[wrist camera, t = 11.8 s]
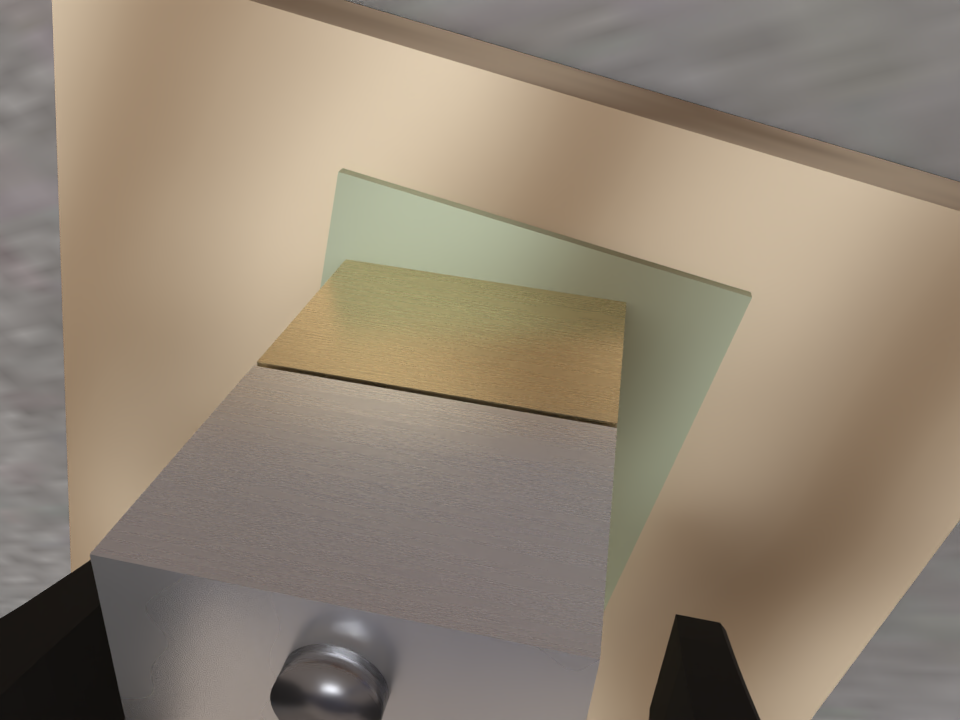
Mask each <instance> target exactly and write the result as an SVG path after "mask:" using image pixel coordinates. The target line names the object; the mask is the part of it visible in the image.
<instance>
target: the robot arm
mask: <svg viewBox="0 0 960 720" xmlns="http://www.w3.org/2000/svg"><path fill="white" fill-rule="evenodd" d="M0 720H125V715H124V711H123V706H122V702H121V697H120V692H119V688H118V683H117V679H116V674H115V669H114V665H113V660H112V655H111V651H110V646H109V642H108V637H107V632H106V628H105V623H104V619H103V614H102V609H101V605H100V600H99V595H98V591H97V586H96V582H95V577H94V572H93V568H92V563H91V560H89V561H88V562H86V563H85V564H83V565H82V566H81V567H79V568H78V569H76V570H75V571H73V572H72V573H70V574H69V575H67V576H66V577H64V578H63V579H61V580H60V581H58V582H57V583H55V584H54V585H52V586H51V587H49V588H48V589H46V590H45V591H43V592H42V593H40V594H38V595H37V596H35V597H34V598H32V599H31V600H29V601H28V602H26V603H25V604H23V605H22V606H20V607H18V608H17V609H15V610H14V611H12V612H10V613H9V614H7V615H5V616H4V617H2V618H0ZM649 720H761V719H760V717H759V715H758V712H757V710H756V708H755V705H754V703H753V700H752V698H751V696H750V693H749V691H748V689H747V686H746V684H745V681H744V678H743V676H742V673H741V671H740V668H739V666H738V663H737V660H736V658H735V655H734V652H733V649H732V646H731V644H730V641H729V638H728V635H727V632H726V630H725V628H724V627H723V626H722V624H721V623H719V622H714V621H709V620H704V619H699V618H694V617H689V616H683V615H678V614H676V615H675V619H674V623H673V626H672V630H671V633H670V637H669V641H668V644H667V648H666V651H665V655H664V659H663V662H662V666H661V669H660V673H659V677H658V680H657V684H656V687H655V691H654V695H653V698H652V702H651V705H650V709H649Z"/></svg>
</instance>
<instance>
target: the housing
mask: <svg viewBox="0 0 960 720" xmlns="http://www.w3.org/2000/svg"><path fill="white" fill-rule="evenodd" d="M625 315H626V302H622V301H615V300H609V299H602V298H596V297H589V296H583V295H576V294H570V293H563V292H557V291H550V290H544V289H537V288H530V287H524V286H517V285H511V284H504V283H498V282H491V281H485V280H478V279H472V278H465V277H459V276H452V275H445V274H439V273H432V272H426V271H419V270H413V269H406V268H400V267H393V266H387V265H380V264H374V263H367V262H360V261H354V260H347V259H346V260H345V261H344V262H343V263H342V264H341V265H340V267H339V268H338V269H337V270H336V271H335V272H334V273H333V275H332V276H331V277H330V278H329V279H328V280H327V281H326V283H325V284H324V285H323V286H322V287H321V288H320V290H319V291H318V292H317V293H316V294H315V295H314V296H313V298H312V299H311V300H310V301H309V302H308V303H307V305H306V306H305V307H304V308H303V309H302V310H301V311H300V313H299V314H298V315H297V316H296V317H295V318H294V319H293V321H292V322H291V323H290V324H289V325H288V326H287V328H286V329H285V330H284V331H283V332H282V333H281V334H280V336H279V337H278V338H277V339H276V340H275V341H274V342H273V344H272V345H271V346H270V347H269V348H268V349H267V351H266V352H265V353H264V354H263V355H262V356H261V357H260V359H259V360H258V361H257V366H253V367H252V368H251V369H250V370H249V371H248V372H247V374H246V375H245V376H244V377H243V378H242V379H241V380H240V382H239V383H238V384H237V385H236V386H235V387H234V389H233V390H232V391H231V392H230V393H229V394H228V395H227V397H226V398H225V399H224V400H223V401H222V402H221V404H220V405H219V406H218V407H217V408H216V409H215V410H214V412H213V413H212V414H211V415H210V416H209V417H208V418H207V420H206V421H205V422H204V423H203V424H202V425H201V427H200V428H199V429H198V430H197V431H196V432H195V433H194V435H193V436H192V437H191V438H190V439H189V440H188V442H187V443H186V444H185V445H184V446H183V447H182V448H181V450H180V451H179V452H178V453H177V454H176V455H175V456H174V458H173V459H172V460H171V461H170V462H169V463H168V465H167V466H166V467H165V468H164V469H163V470H162V471H161V473H160V474H159V475H158V476H157V477H156V478H155V479H154V481H153V482H152V483H151V484H150V485H149V486H148V488H147V489H146V490H145V491H144V492H143V493H142V494H141V496H140V497H139V498H138V499H137V500H136V501H135V503H134V504H133V505H132V506H131V507H130V508H129V509H128V511H127V512H126V513H125V514H124V515H123V516H122V517H121V519H120V520H119V521H118V522H117V523H116V524H115V526H114V527H113V528H112V529H111V530H110V531H109V532H108V534H107V535H106V536H105V537H104V538H103V539H102V541H101V542H100V543H99V544H98V545H97V546H96V547H95V549H94V550H93V551H92V552H91V553H90V559H91V563H92V568H93V572H94V577H95V582H96V586H97V591H98V595H99V600H100V605H101V609H102V614H103V619H104V623H105V628H106V632H107V637H108V642H109V646H110V651H111V655H112V660H113V665H114V669H115V674H116V679H117V683H118V688H119V692H120V697H121V702H122V706H123V711H124V715H125V720H586V719H587V715H588V710H589V706H590V702H591V697H592V693H593V689H594V684H595V680H596V675H597V671H598V667H599V662H600V654H601V640H602V627H603V613H604V600H605V586H606V573H607V559H608V545H609V532H610V518H611V505H612V491H613V477H614V464H615V450H616V437H617V423H618V410H619V396H620V382H621V369H622V355H623V342H624V328H625Z"/></svg>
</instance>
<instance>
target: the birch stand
mask: <svg viewBox="0 0 960 720" xmlns="http://www.w3.org/2000/svg"><path fill="white" fill-rule="evenodd" d="M52 12H53V42H54V72H55V102H56V132H57V162H58V192H59V222H60V252H61V282H62V312H63V342H64V372H65V403H66V433H67V463H68V493H69V523H70V553H71V573H72V572H73V571H75V570H76V569H78V568H79V567H81V566H82V565H83V564H85V563H86V562H88V561H89V560H91V559H90V553H91V552H92V551H93V550H94V549H95V547H96V546H97V545H98V544H99V543H100V542H101V541H102V539H103V538H104V537H105V536H106V535H107V534H108V532H109V531H110V530H111V529H112V528H113V527H114V526H115V524H116V523H117V522H118V521H119V520H120V519H121V517H122V516H123V515H124V514H125V513H126V512H127V511H128V509H129V508H130V507H131V506H132V505H133V504H134V503H135V501H136V500H137V499H138V498H139V497H140V496H141V494H142V493H143V492H144V491H145V490H146V489H147V488H148V486H149V485H150V484H151V483H152V482H153V481H154V479H155V478H156V477H157V476H158V475H159V474H160V473H161V471H162V470H163V469H164V468H165V467H166V466H167V465H168V463H169V462H170V461H171V460H172V459H173V458H174V456H175V455H176V454H177V453H178V452H179V451H180V450H181V448H182V447H183V446H184V445H185V444H186V443H187V442H188V440H189V439H190V438H191V437H192V436H193V435H194V433H195V432H196V431H197V430H198V429H199V428H200V427H201V425H202V424H203V423H204V422H205V421H206V420H207V418H208V417H209V416H210V415H211V414H212V413H213V412H214V410H215V409H216V408H217V407H218V406H219V405H220V404H221V402H222V401H223V400H224V399H225V398H226V397H227V395H228V394H229V393H230V392H231V391H232V390H233V389H234V387H235V386H236V385H237V384H238V383H239V382H240V380H241V379H242V378H243V377H244V376H245V375H246V374H247V372H248V371H249V370H250V369H251V368H252V367H253V366H257V361H258V360H259V359H260V357H261V356H262V355H263V354H264V353H265V352H266V351H267V349H268V348H269V347H270V346H271V345H272V344H273V342H274V341H275V340H276V339H277V338H278V337H279V336H280V334H281V333H282V332H283V331H284V330H285V329H286V328H287V326H288V325H289V324H290V323H291V322H292V321H293V319H294V318H295V317H296V316H297V315H298V314H299V313H300V311H301V310H302V309H303V308H304V307H305V306H306V305H307V303H308V302H309V301H310V300H311V299H312V298H313V296H314V295H315V294H316V293H317V292H318V291H319V290H320V288H321V287H322V286H323V285H324V284H325V283H326V281H327V280H328V279H329V278H330V277H331V276H332V275H333V273H334V272H335V271H336V270H337V269H338V268H339V267H340V265H341V264H342V263H343V262H344V261H345V260H346V259H347V260H354V261H360V262H367V263H374V264H380V265H387V266H393V267H400V268H406V269H413V270H419V271H426V272H432V273H439V274H445V275H452V276H459V277H465V278H472V279H478V280H485V281H491V282H498V283H504V284H511V285H517V286H524V287H530V288H537V289H544V290H550V291H557V292H563V293H570V294H576V295H583V296H589V297H596V298H602V299H609V300H615V301H622V302H626V315H625V328H624V342H623V355H622V369H621V382H620V396H619V410H618V423H617V437H616V450H615V464H614V477H613V491H612V505H611V518H610V532H609V545H608V559H607V573H606V586H605V600H604V613H603V627H602V640H601V654H600V662H599V667H598V671H597V675H596V680H595V684H594V689H593V693H592V697H591V702H590V706H589V710H588V715H587V719H586V720H649V709H650V705H651V702H652V698H653V695H654V691H655V687H656V684H657V680H658V677H659V673H660V669H661V666H662V662H663V659H664V655H665V651H666V648H667V644H668V641H669V637H670V633H671V630H672V626H673V623H674V619H675V615H676V614H678V615H683V616H689V617H694V618H699V619H704V620H709V621H714V622H719V623H721V624H722V626H723V627H724V628H725V630H726V632H727V635H728V638H729V641H730V644H731V646H732V649H733V652H734V655H735V658H736V660H737V663H738V666H739V668H740V671H741V673H742V676H743V678H744V681H745V684H746V686H747V689H748V691H749V693H750V696H751V698H752V700H753V703H754V705H755V708H756V710H757V712H758V715H759V717H760V719H761V720H811V719H812V717H813V716H814V715H815V713H816V712H817V711H818V709H819V708H820V707H821V705H822V704H823V703H824V701H825V700H826V699H827V697H828V696H829V695H830V693H831V692H832V690H833V689H834V688H835V686H836V685H837V684H838V682H839V681H840V680H841V678H842V677H843V676H844V674H845V673H846V672H847V670H848V669H849V668H850V666H851V665H852V664H853V662H854V661H855V660H856V658H857V657H858V656H859V654H860V653H861V652H862V650H863V649H864V648H865V646H866V645H867V644H868V642H869V641H870V640H871V638H872V637H873V636H874V634H875V633H876V632H877V630H878V629H879V627H880V626H881V625H882V623H883V622H884V621H885V619H886V618H887V617H888V615H889V614H890V613H891V611H892V610H893V609H894V607H895V606H896V605H897V603H898V602H899V601H900V599H901V598H902V597H903V595H904V594H905V593H906V591H907V590H908V589H909V587H910V586H911V585H912V583H913V582H914V581H915V579H916V578H917V577H918V575H919V574H920V573H921V571H922V570H923V568H924V567H925V566H926V564H927V563H928V562H929V560H930V559H931V558H932V556H933V555H934V554H935V552H936V551H937V550H938V548H939V547H940V546H941V544H942V543H943V542H944V540H945V539H946V538H947V536H948V535H949V534H950V532H951V531H952V530H953V528H954V527H955V526H956V524H957V523H958V522H959V520H960V182H958V181H954V180H951V179H948V178H944V177H941V176H937V175H934V174H931V173H927V172H924V171H920V170H917V169H914V168H910V167H907V166H904V165H900V164H897V163H893V162H890V161H887V160H883V159H880V158H876V157H873V156H870V155H866V154H863V153H860V152H856V151H853V150H849V149H846V148H843V147H839V146H836V145H832V144H829V143H826V142H822V141H819V140H816V139H812V138H809V137H805V136H802V135H799V134H795V133H792V132H788V131H785V130H782V129H778V128H775V127H772V126H768V125H765V124H761V123H758V122H755V121H751V120H748V119H744V118H741V117H738V116H734V115H731V114H728V113H724V112H721V111H717V110H714V109H711V108H707V107H704V106H700V105H697V104H694V103H690V102H687V101H684V100H680V99H677V98H673V97H670V96H667V95H663V94H660V93H656V92H653V91H650V90H646V89H643V88H640V87H636V86H633V85H629V84H626V83H623V82H619V81H616V80H612V79H609V78H606V77H602V76H599V75H596V74H592V73H589V72H585V71H582V70H579V69H575V68H572V67H568V66H565V65H562V64H558V63H555V62H552V61H548V60H545V59H541V58H538V57H535V56H531V55H528V54H524V53H521V52H518V51H514V50H511V49H508V48H504V47H501V46H497V45H494V44H491V43H487V42H484V41H480V40H477V39H474V38H470V37H467V36H464V35H460V34H457V33H453V32H450V31H447V30H443V29H440V28H436V27H433V26H430V25H426V24H423V23H420V22H416V21H413V20H409V19H406V18H403V17H399V16H396V15H393V14H389V13H386V12H382V11H379V10H376V9H372V8H369V7H365V6H362V5H359V4H355V3H352V2H349V1H345V0H52Z"/></svg>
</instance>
